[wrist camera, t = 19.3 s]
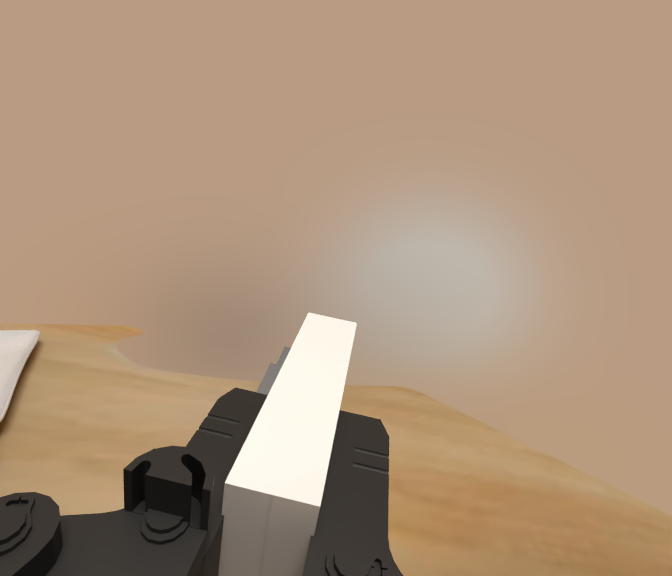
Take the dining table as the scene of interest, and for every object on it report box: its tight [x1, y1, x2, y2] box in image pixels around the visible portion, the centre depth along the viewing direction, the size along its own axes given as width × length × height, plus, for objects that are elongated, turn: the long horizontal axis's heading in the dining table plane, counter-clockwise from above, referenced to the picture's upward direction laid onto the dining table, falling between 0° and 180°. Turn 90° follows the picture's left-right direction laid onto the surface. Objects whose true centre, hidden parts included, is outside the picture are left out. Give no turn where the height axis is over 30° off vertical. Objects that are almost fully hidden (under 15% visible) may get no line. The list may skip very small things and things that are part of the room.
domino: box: [257, 363, 282, 395], centre depth 54 cm, size 5×2×11 cm
